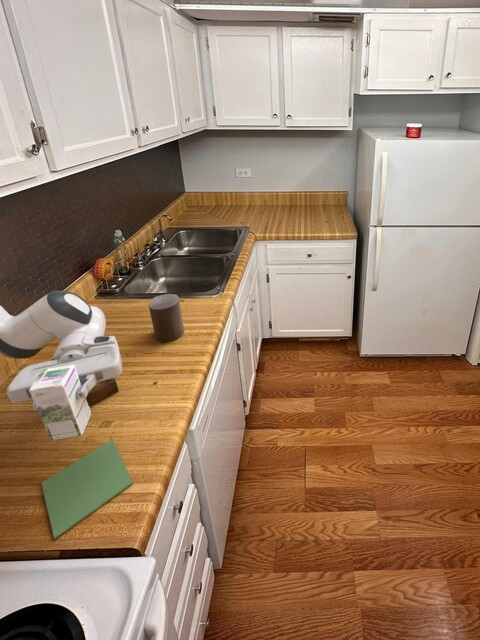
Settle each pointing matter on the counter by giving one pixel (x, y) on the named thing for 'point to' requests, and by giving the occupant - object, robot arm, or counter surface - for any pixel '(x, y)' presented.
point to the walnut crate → (102, 392)
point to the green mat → (84, 487)
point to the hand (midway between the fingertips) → (60, 401)
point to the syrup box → (60, 402)
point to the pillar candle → (166, 317)
